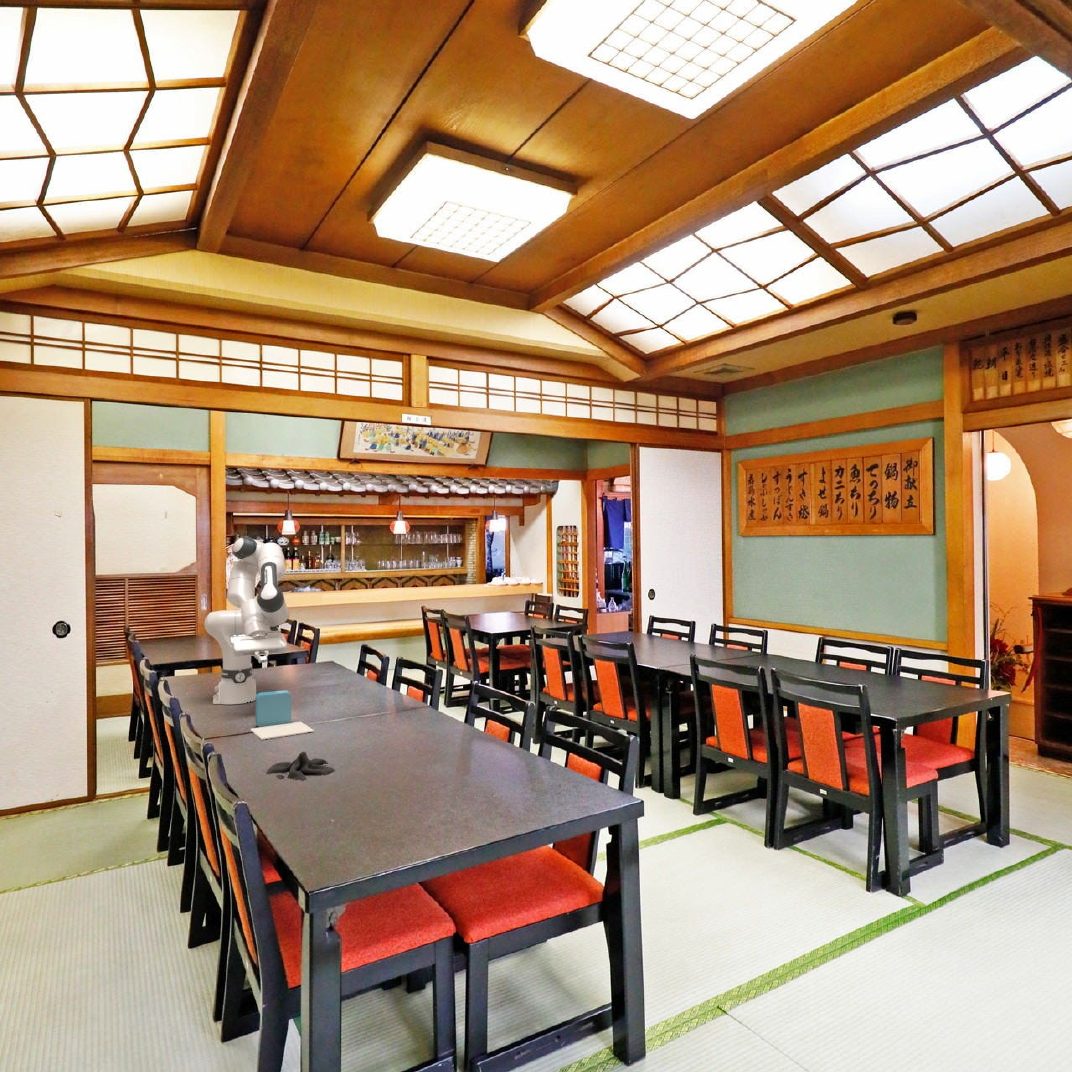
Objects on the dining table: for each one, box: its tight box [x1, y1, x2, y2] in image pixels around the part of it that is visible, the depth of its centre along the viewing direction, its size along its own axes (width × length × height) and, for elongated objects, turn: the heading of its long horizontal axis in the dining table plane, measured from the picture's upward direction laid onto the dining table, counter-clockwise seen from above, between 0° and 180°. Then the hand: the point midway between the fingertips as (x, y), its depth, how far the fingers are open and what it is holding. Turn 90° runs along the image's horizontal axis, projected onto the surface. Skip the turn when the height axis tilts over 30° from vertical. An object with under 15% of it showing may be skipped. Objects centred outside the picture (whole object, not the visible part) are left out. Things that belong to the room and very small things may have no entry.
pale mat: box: [249, 721, 315, 741], centre depth 248 cm, size 16×18×1 cm
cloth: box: [265, 751, 336, 782], centre depth 203 cm, size 22×19×6 cm
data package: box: [254, 689, 292, 728], centre depth 257 cm, size 12×4×12 cm, turn 118°
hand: (263, 661), depth 270 cm, fingers closed
